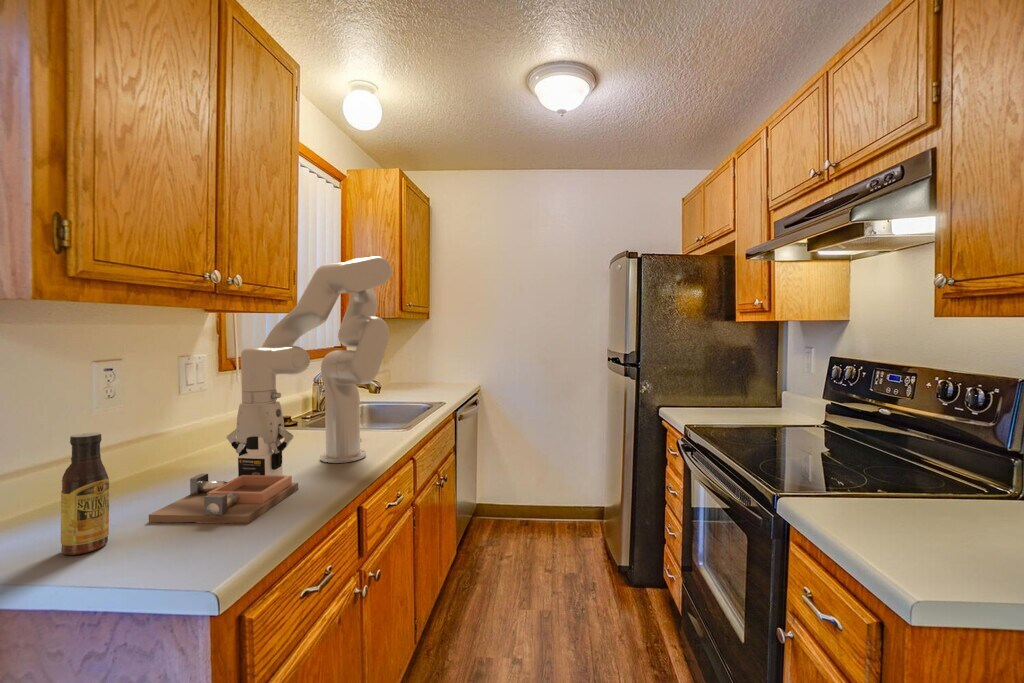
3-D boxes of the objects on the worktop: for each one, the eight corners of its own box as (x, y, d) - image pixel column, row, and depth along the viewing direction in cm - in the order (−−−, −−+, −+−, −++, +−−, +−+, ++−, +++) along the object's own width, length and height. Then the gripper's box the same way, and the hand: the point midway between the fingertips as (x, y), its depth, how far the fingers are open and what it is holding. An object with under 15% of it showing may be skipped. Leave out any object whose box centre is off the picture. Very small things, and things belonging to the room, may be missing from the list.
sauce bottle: (80, 559, 79) (76, 440, 78) (50, 555, 80) (47, 438, 79) (120, 541, 85) (117, 431, 85) (92, 538, 86) (89, 430, 86)
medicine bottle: (237, 485, 115) (236, 436, 115) (257, 476, 122) (256, 430, 122) (265, 486, 114) (263, 437, 114) (283, 477, 121) (282, 430, 121)
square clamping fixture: (216, 488, 113) (215, 466, 113) (298, 488, 113) (297, 467, 112) (148, 522, 93) (148, 496, 93) (247, 523, 93) (247, 497, 92)
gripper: (301, 395, 121) (302, 464, 121) (234, 395, 122) (236, 463, 122) (285, 399, 113) (287, 473, 114) (214, 399, 114) (216, 472, 115)
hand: (260, 467), depth 118 cm, fingers closed on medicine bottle, 7 cm apart
